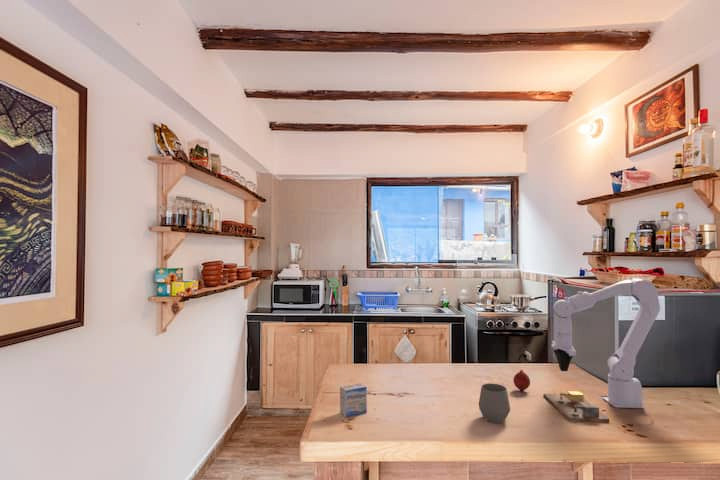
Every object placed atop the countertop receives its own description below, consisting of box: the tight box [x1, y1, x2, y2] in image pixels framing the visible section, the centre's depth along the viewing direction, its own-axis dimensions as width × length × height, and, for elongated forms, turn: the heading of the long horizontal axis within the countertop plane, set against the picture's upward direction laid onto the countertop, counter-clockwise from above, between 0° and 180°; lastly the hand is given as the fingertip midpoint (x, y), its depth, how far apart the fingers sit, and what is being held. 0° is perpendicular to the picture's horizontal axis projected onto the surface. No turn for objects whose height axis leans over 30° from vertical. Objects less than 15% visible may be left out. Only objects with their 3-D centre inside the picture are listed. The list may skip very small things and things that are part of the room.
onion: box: [513, 369, 531, 392], centre depth 147 cm, size 6×6×8 cm
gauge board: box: [543, 393, 610, 423], centre depth 131 cm, size 12×20×4 cm, turn 176°
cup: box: [478, 382, 511, 424], centre depth 123 cm, size 10×9×10 cm
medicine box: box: [339, 383, 368, 419], centre depth 128 cm, size 8×4×9 cm, turn 118°
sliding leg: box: [559, 390, 585, 402], centre depth 133 cm, size 7×3×2 cm, turn 86°
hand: (563, 370), depth 142 cm, fingers closed
